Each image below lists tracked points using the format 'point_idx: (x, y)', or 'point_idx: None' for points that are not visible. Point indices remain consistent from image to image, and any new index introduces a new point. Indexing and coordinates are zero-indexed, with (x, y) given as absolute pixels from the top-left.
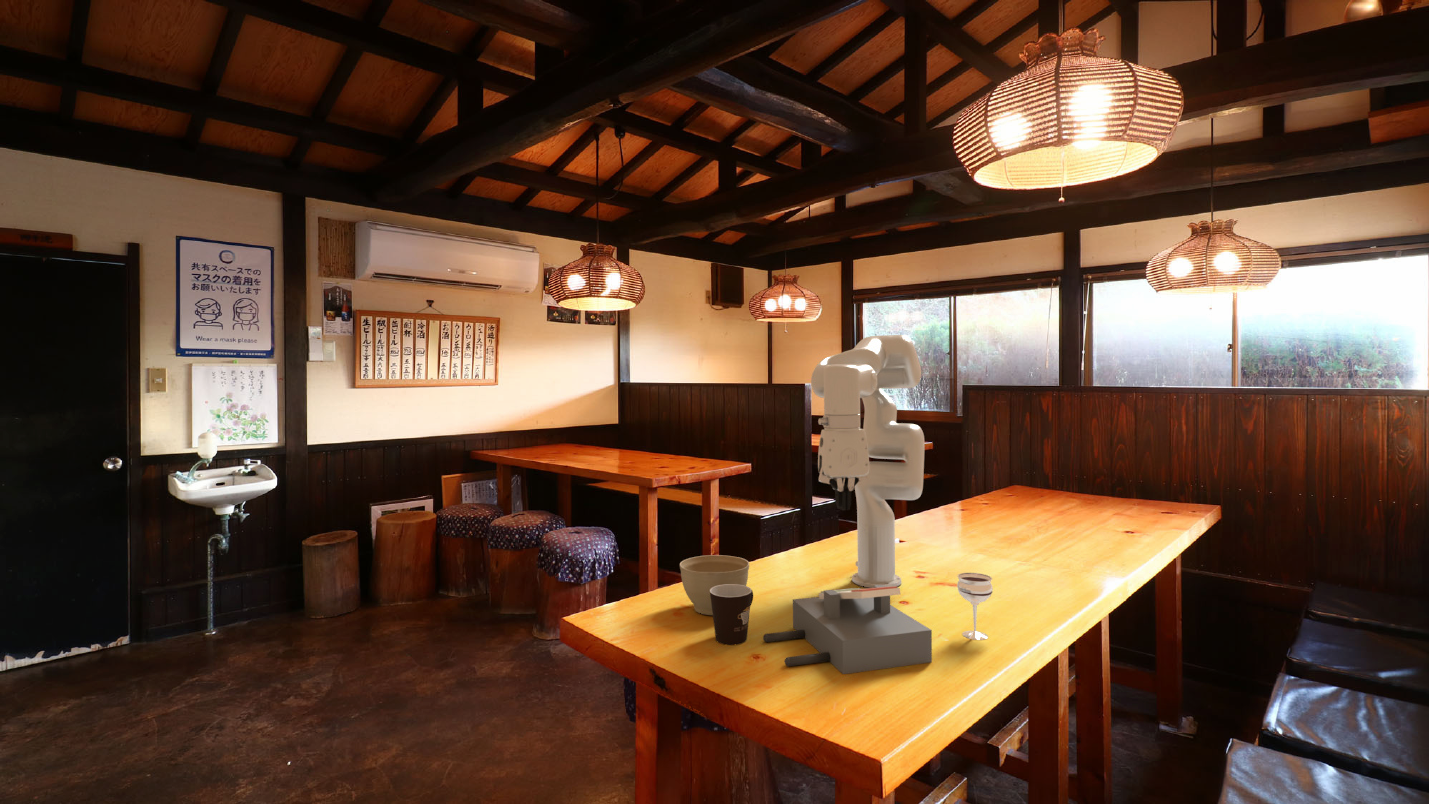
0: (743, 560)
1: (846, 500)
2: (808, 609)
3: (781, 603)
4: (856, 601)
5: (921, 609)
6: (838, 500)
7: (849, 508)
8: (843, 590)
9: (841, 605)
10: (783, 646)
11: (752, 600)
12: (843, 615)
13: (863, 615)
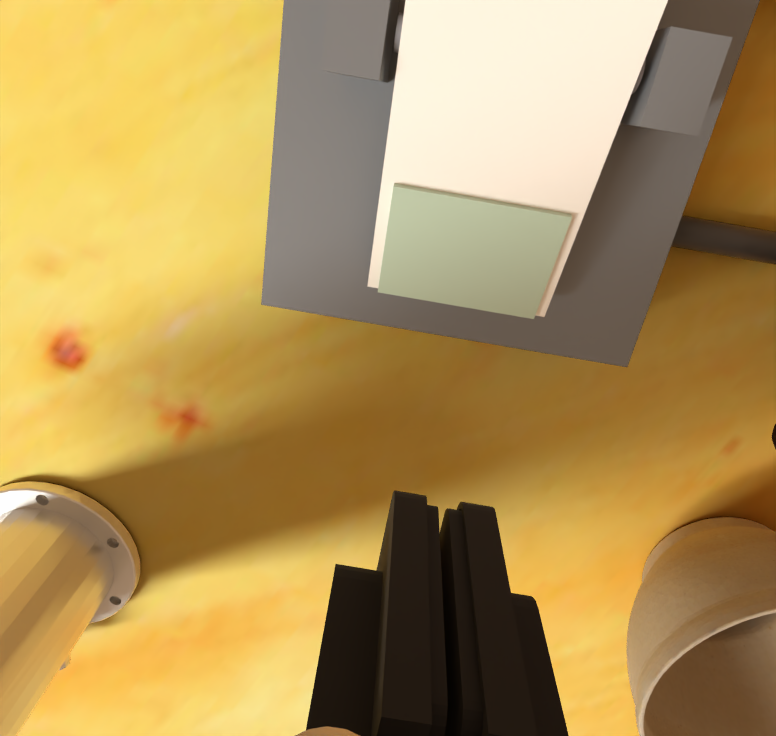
0: (643, 709)
1: (441, 595)
2: (661, 224)
3: None
4: None
5: (41, 262)
6: (546, 648)
7: (403, 496)
8: (495, 203)
9: None
10: (755, 180)
11: (773, 434)
12: None
13: None
